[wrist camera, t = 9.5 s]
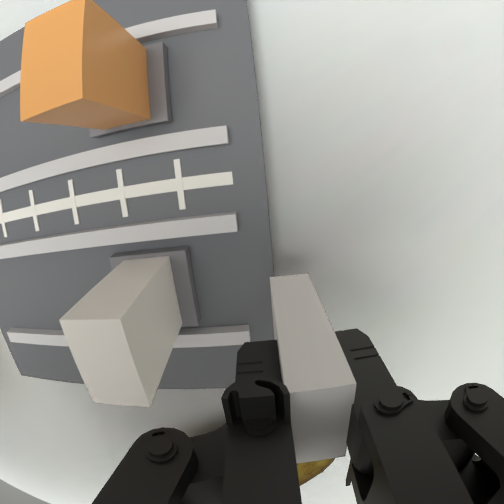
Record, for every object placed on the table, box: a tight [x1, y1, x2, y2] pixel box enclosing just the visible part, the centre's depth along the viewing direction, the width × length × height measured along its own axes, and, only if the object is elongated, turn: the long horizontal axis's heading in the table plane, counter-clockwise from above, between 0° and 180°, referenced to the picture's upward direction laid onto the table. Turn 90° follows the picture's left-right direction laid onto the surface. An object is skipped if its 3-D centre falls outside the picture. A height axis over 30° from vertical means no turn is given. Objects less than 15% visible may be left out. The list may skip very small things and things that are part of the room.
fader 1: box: [20, 0, 172, 138], centre depth 10 cm, size 4×4×7 cm
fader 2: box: [59, 246, 201, 407], centre depth 13 cm, size 4×4×7 cm
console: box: [0, 0, 275, 389], centre depth 15 cm, size 20×24×3 cm
